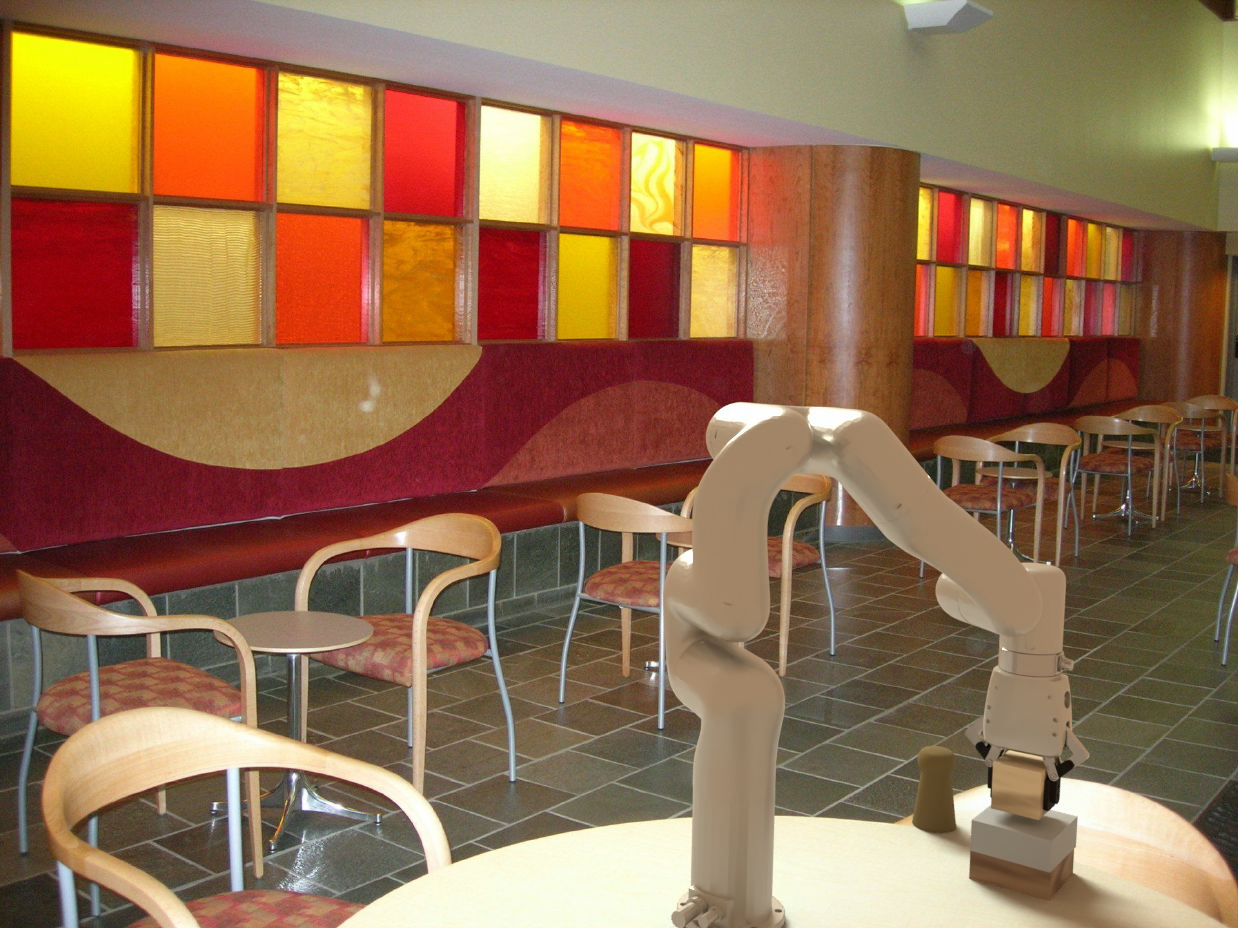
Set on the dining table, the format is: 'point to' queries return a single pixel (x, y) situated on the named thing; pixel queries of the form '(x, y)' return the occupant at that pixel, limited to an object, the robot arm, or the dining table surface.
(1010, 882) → the tower base
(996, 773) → the block
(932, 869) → the dining table surface
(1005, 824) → the tower top
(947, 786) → the brown tapered cylinder
